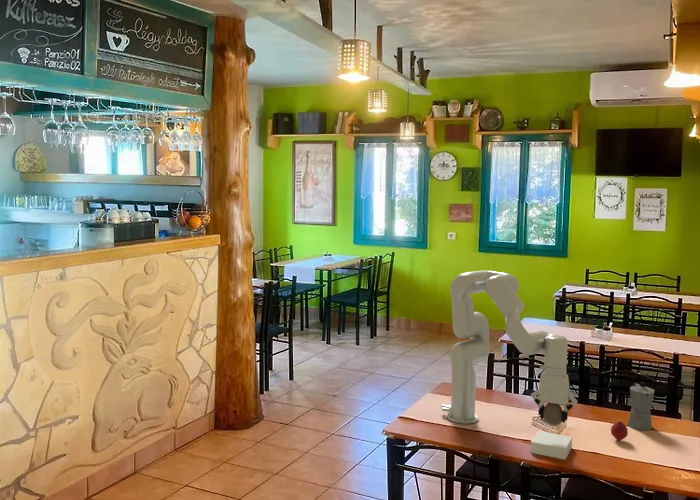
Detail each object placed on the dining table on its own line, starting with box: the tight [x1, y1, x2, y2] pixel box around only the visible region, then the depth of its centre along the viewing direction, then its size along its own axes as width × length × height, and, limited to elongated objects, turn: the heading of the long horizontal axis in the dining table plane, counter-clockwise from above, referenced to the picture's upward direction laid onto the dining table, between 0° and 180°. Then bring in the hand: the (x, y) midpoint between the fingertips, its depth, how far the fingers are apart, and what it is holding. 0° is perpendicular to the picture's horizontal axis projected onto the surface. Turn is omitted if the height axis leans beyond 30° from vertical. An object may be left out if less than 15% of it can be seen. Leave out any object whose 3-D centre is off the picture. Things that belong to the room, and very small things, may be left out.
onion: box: [610, 419, 629, 442], centre depth 248 cm, size 6×6×8 cm
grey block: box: [529, 430, 573, 460], centre depth 239 cm, size 12×12×4 cm
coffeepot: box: [627, 381, 655, 432], centre depth 264 cm, size 15×9×18 cm, turn 176°
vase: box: [542, 403, 564, 427], centre depth 238 cm, size 7×7×9 cm
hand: (553, 419), depth 238 cm, fingers closed on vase, 6 cm apart
